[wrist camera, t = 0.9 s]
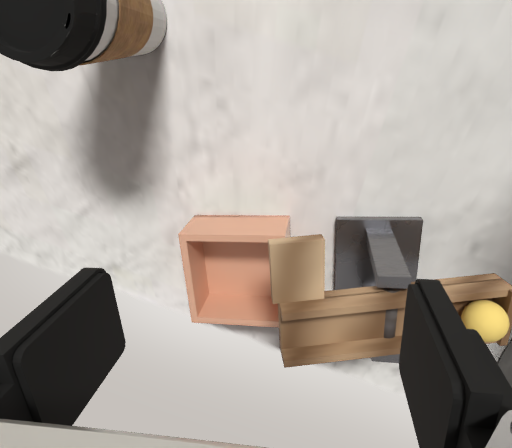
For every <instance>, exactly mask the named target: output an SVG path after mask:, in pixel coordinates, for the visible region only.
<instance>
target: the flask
mask: <svg viewBox="0 0 512 448" xmlns="http://www.w3.org/2000/svg"><path fill="white" fill-rule="evenodd" d="M498 366H499V367H500V369H501V371H502V372H503V374H504V376H505V377H506V379H507V381H508V382H509V384H510V386H511V387H512V341H511V342H510V344H509V345H508V347H507V348H506V350H505V351H504V353H503V355H502V357H501V358H500V360H499V362H498Z"/></svg>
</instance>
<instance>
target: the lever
mask: <svg viewBox="0 0 512 448" xmlns="http://www.w3.org/2000/svg"><path fill="white" fill-rule="evenodd" d="M268 248H269V266H270V284H271V298H272V302H273V304H278V319H279V340H280V350H281V353H282V358H283V363H284V367H293V366H302V365H310V364H319V363H327V362H336V361H344V360H353V359H361V358H370V357H378V356H387V355H395V354H400V348H401V340H402V331H403V323H404V314H405V306H406V297H407V289H402V288H377V286H370V287H360V288H351V289H341V290H332V291H324V274H325V239H324V238H323V236H322V235H321V234H319V235H309V236H298V237H288V238H278V239H268ZM436 280H439V281H440V282H441V284H442V286H443V288H444V289H445V291H446V293H447V295H448V296H449V298H450V300H451V302H452V304H453V305H454V307H455V309H456V311H457V312H458V314H459V316H460V318H461V315H462V312H463V310H464V308H465V307H466V306H467V305H468V304H469V303H471V302H473V301H476V300H488V301H492V302H494V303H496V304H498V305H499V306H501V307H502V308H503V309H504V310H505V312H506V313H507V315H508V318H509V330H508V332H507V334H506V335H505V336H504V337H503V338H502V339H500V340H498V341H495V342H485V344H488V343H498V344H499V345H500V346H503V345H507V344H508V340H509V335H510V331H511V327H512V286H511V285H510V284H509V283H507V282H506V281H505V280H503V279H502V278H500V277H499V276H498V275H496V274H495V273H493V274H483V275H474V276H464V277H455V278H446V279H436ZM411 284H415V282H411Z"/></svg>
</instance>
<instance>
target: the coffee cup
mask: <svg viewBox="0 0 512 448" xmlns="http://www.w3.org/2000/svg"><path fill="white" fill-rule="evenodd" d="M166 27H167V18H166V12H165V8H164V5H163V3H162V1H161V0H0V53H1V54H2V55H4V56H6V57H9V58H11V59H13V60H16V61H20V62H22V63H24V64H26V65H29V66H31V67H33V68H38V69H43V70H48V71H64V70H68V69H72V68H74V67H76V66H78V65H86V64H91V63H97V62H103V61H109V60H114V59H120V58H125V57H130V56H138V55H144V54H148V53H150V52H152V51H154V50H155V49H156V48H157V47H158V46H159V45H160V43H161V42H162V40H163V38H164V36H165V32H166Z"/></svg>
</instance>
